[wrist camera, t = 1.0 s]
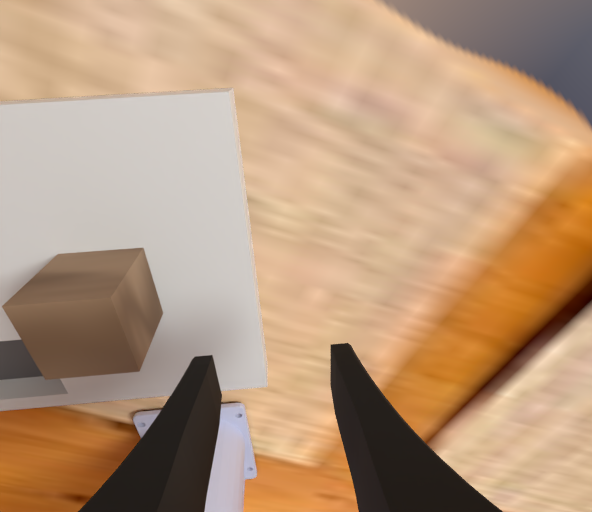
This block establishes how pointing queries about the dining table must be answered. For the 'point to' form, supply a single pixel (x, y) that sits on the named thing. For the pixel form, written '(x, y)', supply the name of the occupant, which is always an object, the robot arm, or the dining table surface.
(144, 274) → the walnut block
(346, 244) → the dining table surface
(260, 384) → the board
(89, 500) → the robot arm
